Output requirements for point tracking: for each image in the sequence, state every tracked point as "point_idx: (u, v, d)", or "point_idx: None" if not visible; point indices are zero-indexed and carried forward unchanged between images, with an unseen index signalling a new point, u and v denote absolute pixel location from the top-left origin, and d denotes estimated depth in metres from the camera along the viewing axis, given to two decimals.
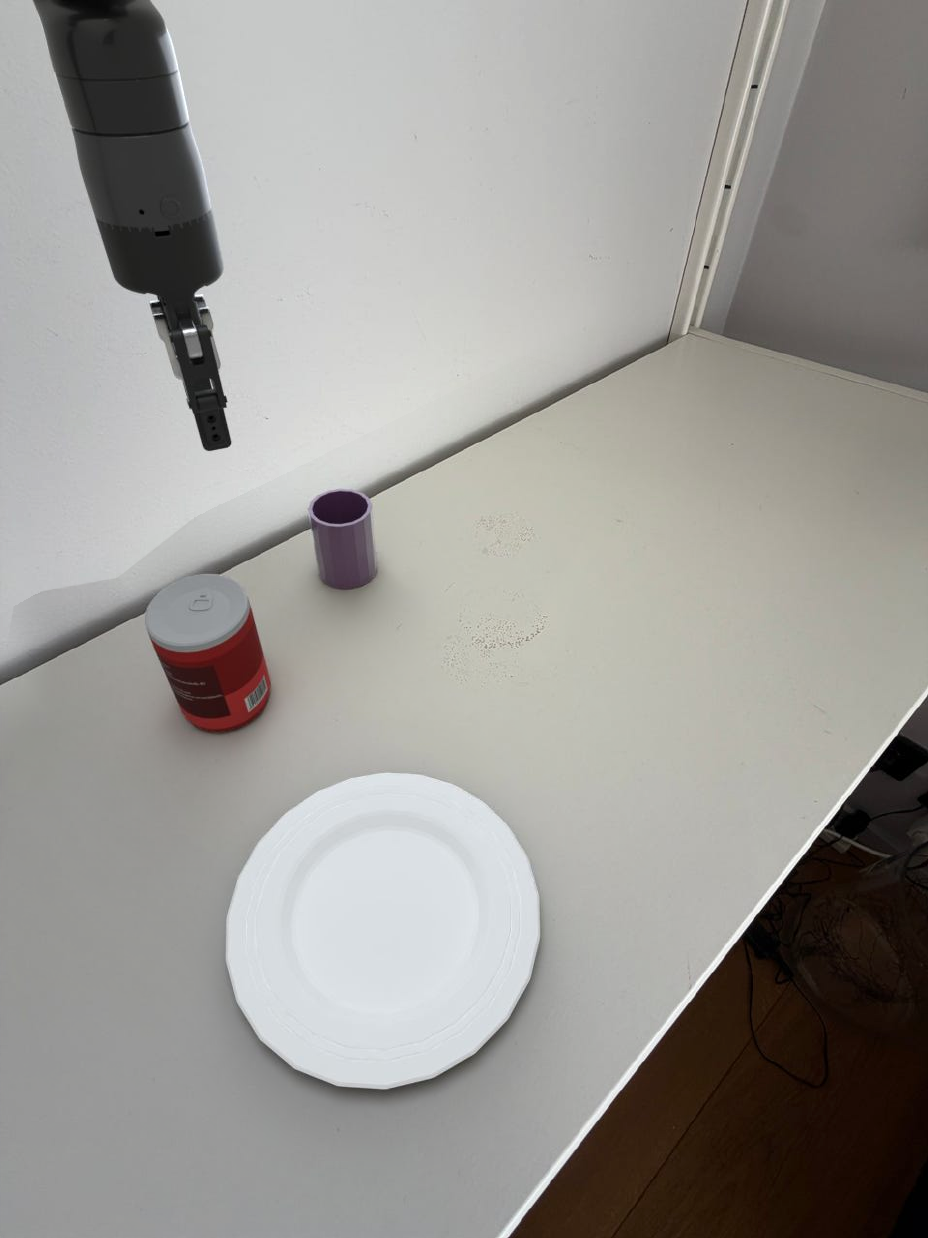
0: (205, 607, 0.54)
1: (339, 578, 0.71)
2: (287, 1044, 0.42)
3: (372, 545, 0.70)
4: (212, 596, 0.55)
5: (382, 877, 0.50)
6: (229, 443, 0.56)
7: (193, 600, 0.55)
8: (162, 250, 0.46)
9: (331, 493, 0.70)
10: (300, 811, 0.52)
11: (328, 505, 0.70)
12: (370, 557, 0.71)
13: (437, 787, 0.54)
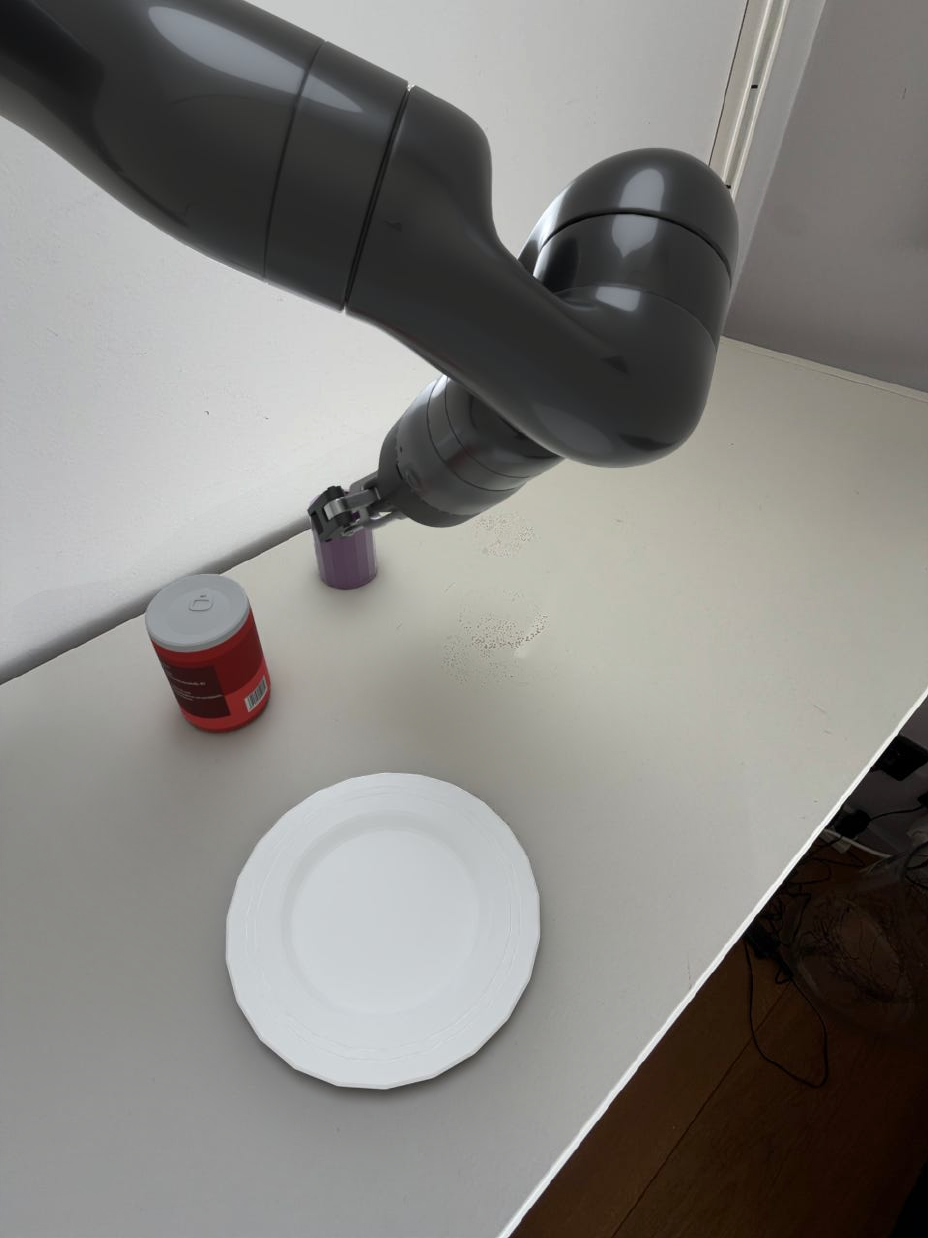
0: (205, 607, 0.54)
1: (339, 578, 0.71)
2: (287, 1044, 0.42)
3: (372, 545, 0.70)
4: (212, 596, 0.55)
5: (382, 877, 0.50)
6: (339, 538, 0.54)
7: (193, 600, 0.55)
8: (393, 472, 0.41)
9: None
10: (300, 811, 0.52)
11: None
12: (370, 557, 0.71)
13: (437, 787, 0.54)
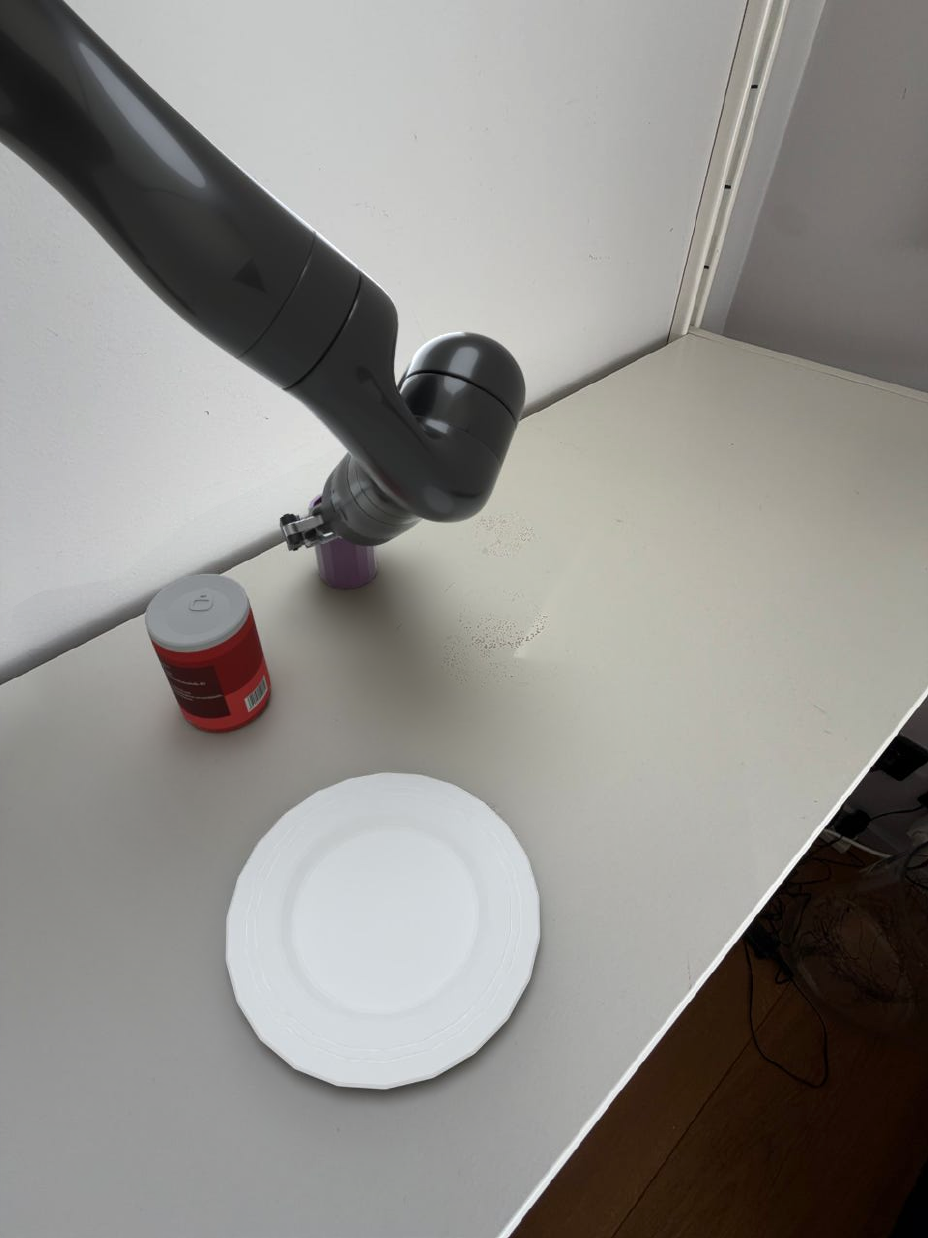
0: (205, 607, 0.54)
1: (339, 578, 0.71)
2: (287, 1044, 0.42)
3: None
4: (212, 596, 0.55)
5: (382, 877, 0.50)
6: (306, 546, 0.70)
7: (193, 600, 0.55)
8: (329, 506, 0.56)
9: None
10: (300, 811, 0.52)
11: None
12: (370, 557, 0.71)
13: (437, 787, 0.54)
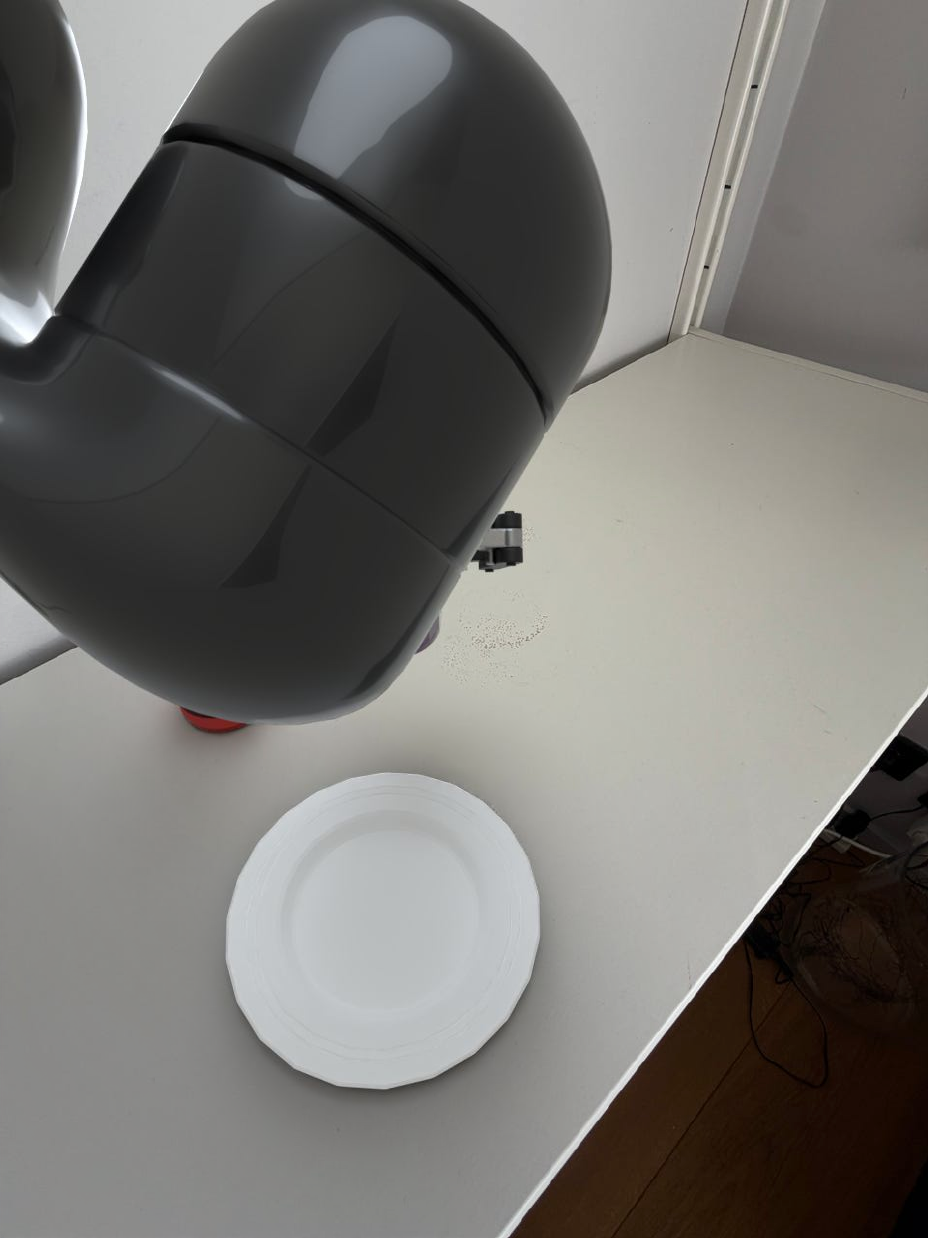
0: None
1: None
2: (287, 1044, 0.42)
3: None
4: None
5: (382, 877, 0.50)
6: None
7: None
8: None
9: None
10: (300, 811, 0.52)
11: None
12: None
13: (437, 787, 0.54)
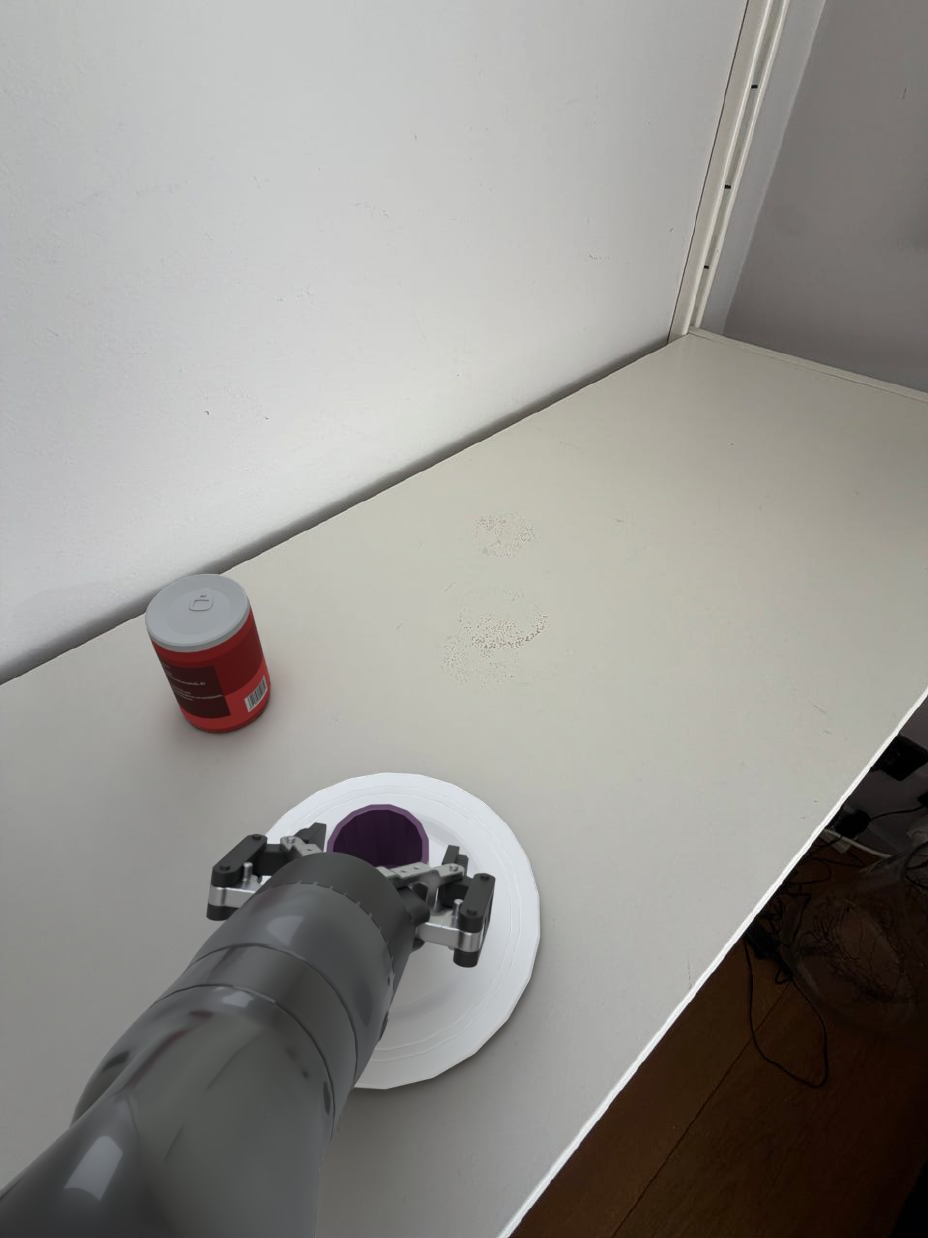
0: (205, 607, 0.54)
1: None
2: None
3: None
4: (212, 596, 0.55)
5: None
6: None
7: (193, 600, 0.55)
8: None
9: (390, 811, 0.44)
10: (300, 811, 0.52)
11: (384, 820, 0.44)
12: None
13: (437, 787, 0.54)
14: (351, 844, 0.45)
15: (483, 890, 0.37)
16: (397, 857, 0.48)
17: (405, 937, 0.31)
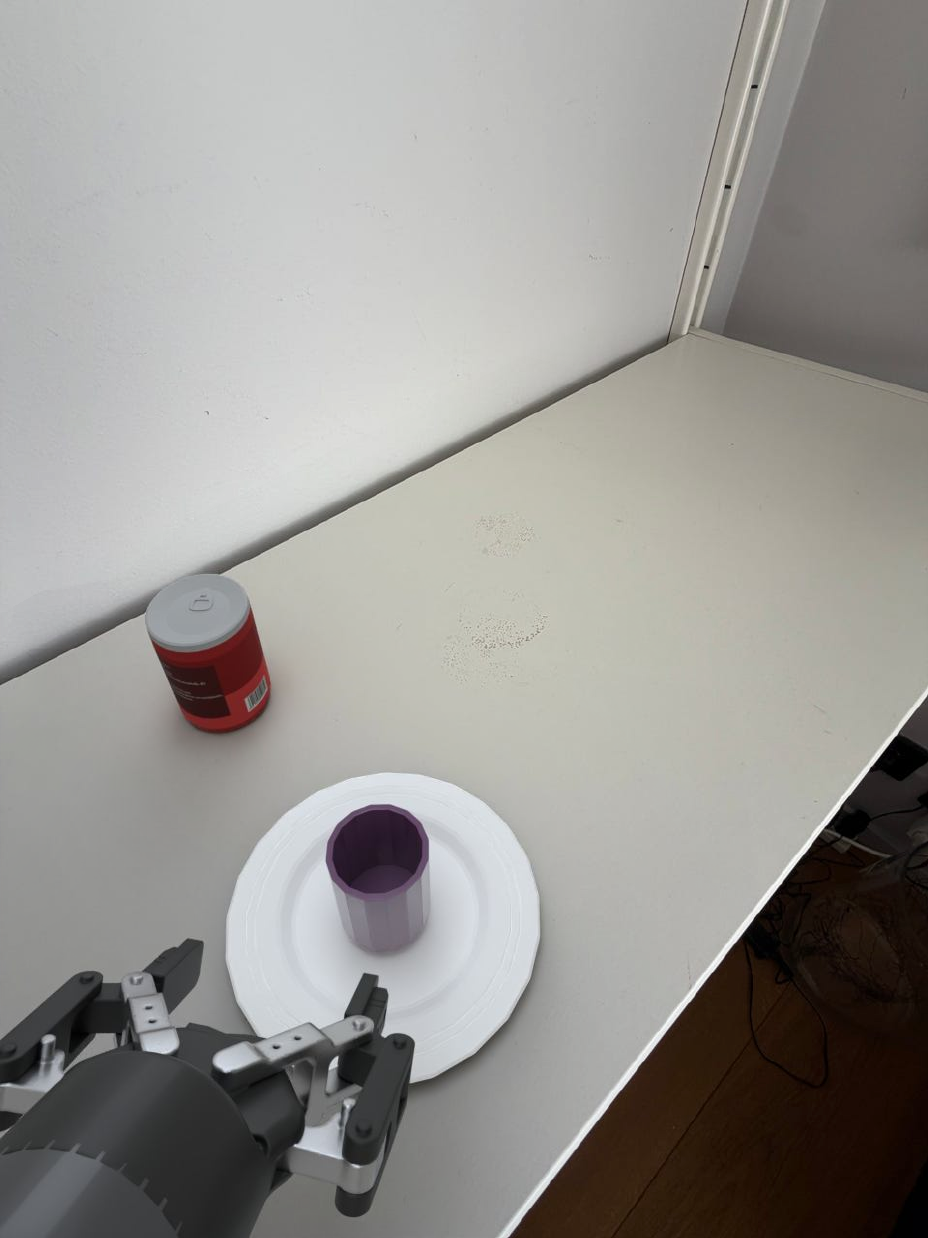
0: (205, 607, 0.54)
1: (347, 929, 0.45)
2: None
3: (406, 920, 0.43)
4: (212, 596, 0.55)
5: None
6: None
7: (193, 600, 0.55)
8: None
9: (390, 811, 0.44)
10: (300, 811, 0.52)
11: (384, 821, 0.44)
12: (398, 931, 0.43)
13: (437, 787, 0.54)
14: (351, 844, 0.45)
15: (391, 1073, 0.26)
16: (397, 857, 0.48)
17: (243, 1201, 0.20)
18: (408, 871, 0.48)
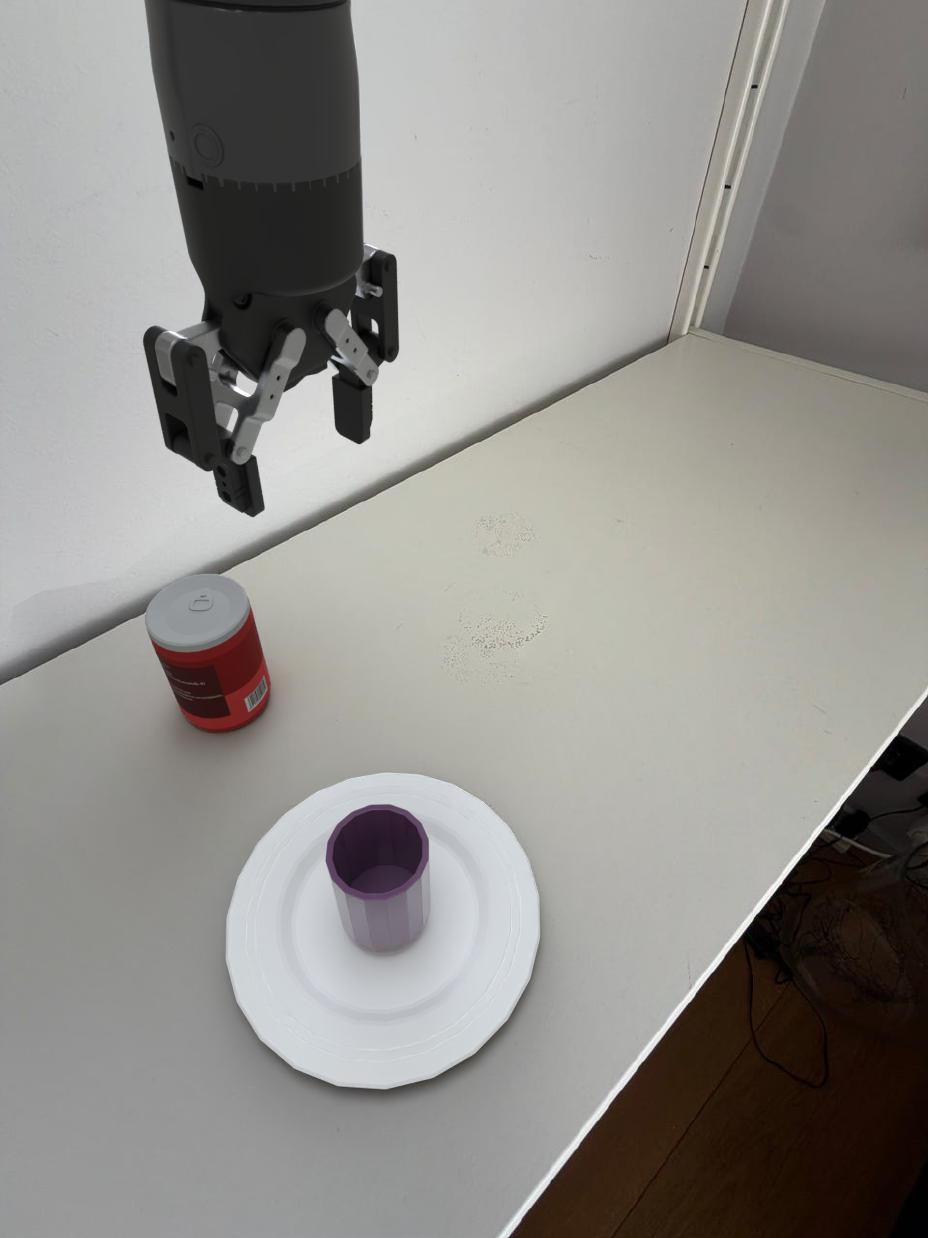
0: (205, 607, 0.54)
1: (347, 929, 0.45)
2: (287, 1044, 0.42)
3: (406, 920, 0.43)
4: (212, 596, 0.55)
5: None
6: (252, 514, 0.37)
7: (193, 600, 0.55)
8: (195, 209, 0.27)
9: (390, 811, 0.44)
10: (300, 811, 0.52)
11: (384, 821, 0.44)
12: (398, 931, 0.43)
13: (437, 787, 0.54)
14: (351, 844, 0.45)
15: None
16: (397, 857, 0.48)
17: None
18: (408, 871, 0.48)
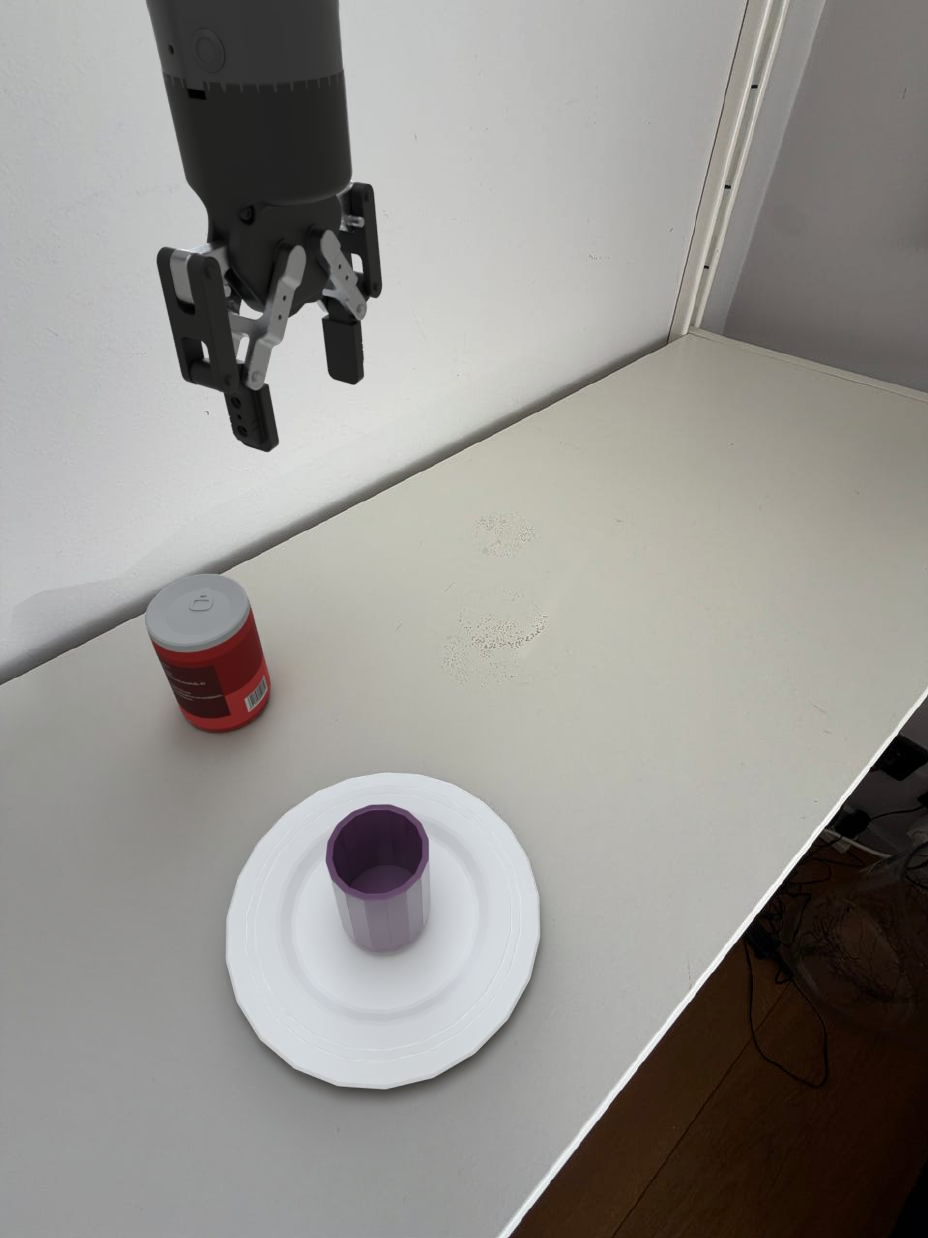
0: (205, 607, 0.54)
1: (347, 929, 0.45)
2: (287, 1044, 0.42)
3: (406, 920, 0.43)
4: (212, 596, 0.55)
5: None
6: (268, 448, 0.38)
7: (193, 600, 0.55)
8: (197, 122, 0.29)
9: (390, 812, 0.44)
10: (300, 811, 0.52)
11: (384, 821, 0.44)
12: (398, 931, 0.43)
13: (437, 787, 0.54)
14: (351, 844, 0.45)
15: None
16: (397, 857, 0.48)
17: None
18: (408, 871, 0.48)
